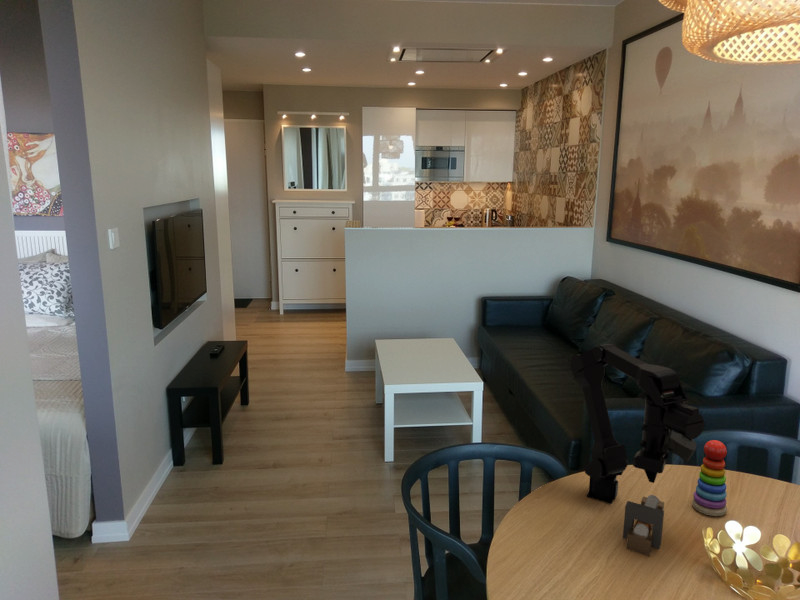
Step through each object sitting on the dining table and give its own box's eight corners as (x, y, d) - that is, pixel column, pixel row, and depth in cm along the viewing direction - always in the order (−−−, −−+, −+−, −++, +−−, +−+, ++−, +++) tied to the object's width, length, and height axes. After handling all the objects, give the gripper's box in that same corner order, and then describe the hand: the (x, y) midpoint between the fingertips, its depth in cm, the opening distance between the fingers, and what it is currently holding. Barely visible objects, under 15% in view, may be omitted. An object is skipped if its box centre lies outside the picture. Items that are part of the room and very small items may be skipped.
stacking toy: (732, 518, 142) (739, 449, 138) (698, 516, 143) (705, 448, 140) (719, 501, 150) (726, 435, 146) (687, 499, 151) (693, 434, 147)
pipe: (641, 510, 146) (643, 490, 145) (662, 516, 144) (664, 496, 142) (626, 549, 131) (628, 527, 130) (649, 556, 129) (651, 534, 127)
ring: (624, 532, 136) (627, 500, 135) (660, 543, 132) (664, 511, 130) (622, 537, 135) (625, 505, 133) (659, 549, 130) (662, 516, 128)
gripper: (690, 445, 121) (683, 510, 124) (700, 414, 136) (693, 474, 140) (635, 433, 127) (630, 496, 130) (650, 405, 142) (645, 462, 146)
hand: (651, 481), depth 136 cm, fingers closed
